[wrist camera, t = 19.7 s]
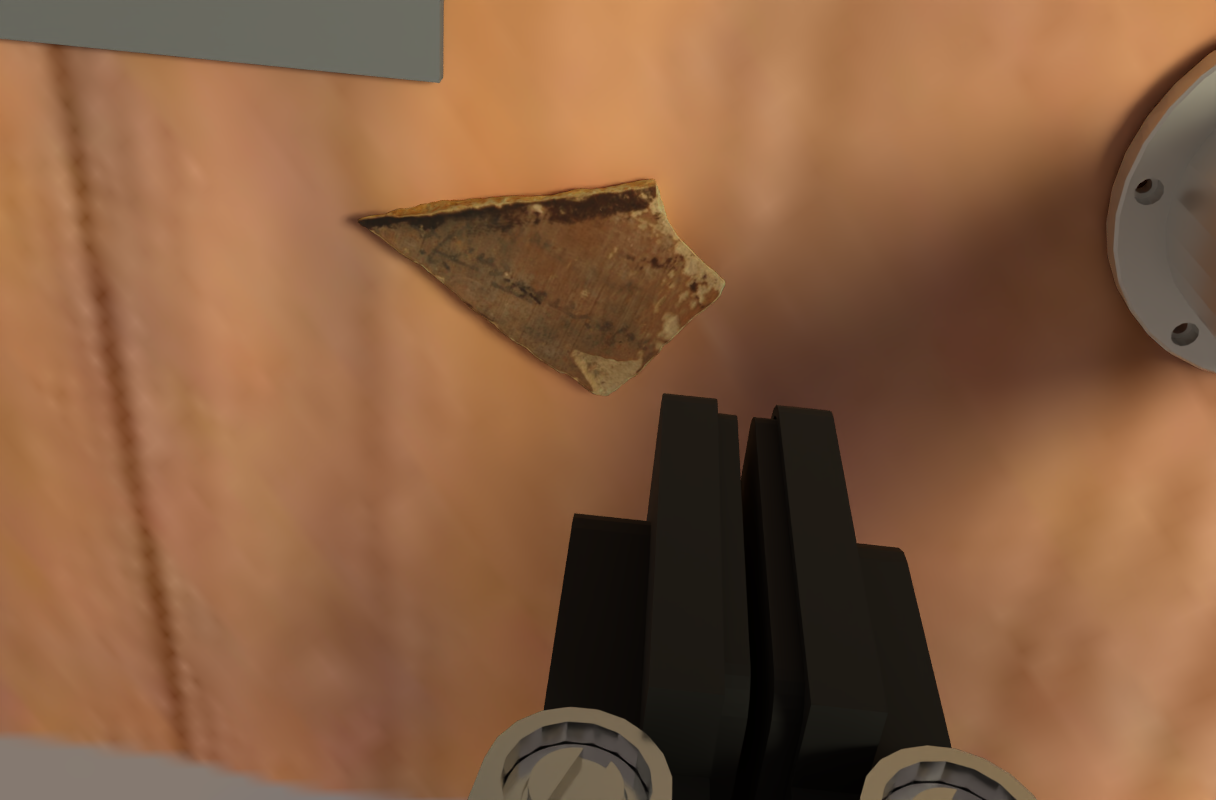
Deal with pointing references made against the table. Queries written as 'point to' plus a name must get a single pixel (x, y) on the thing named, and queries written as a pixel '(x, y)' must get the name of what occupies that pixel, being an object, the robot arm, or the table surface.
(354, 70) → the slate mat
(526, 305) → the shard
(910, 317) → the table surface
